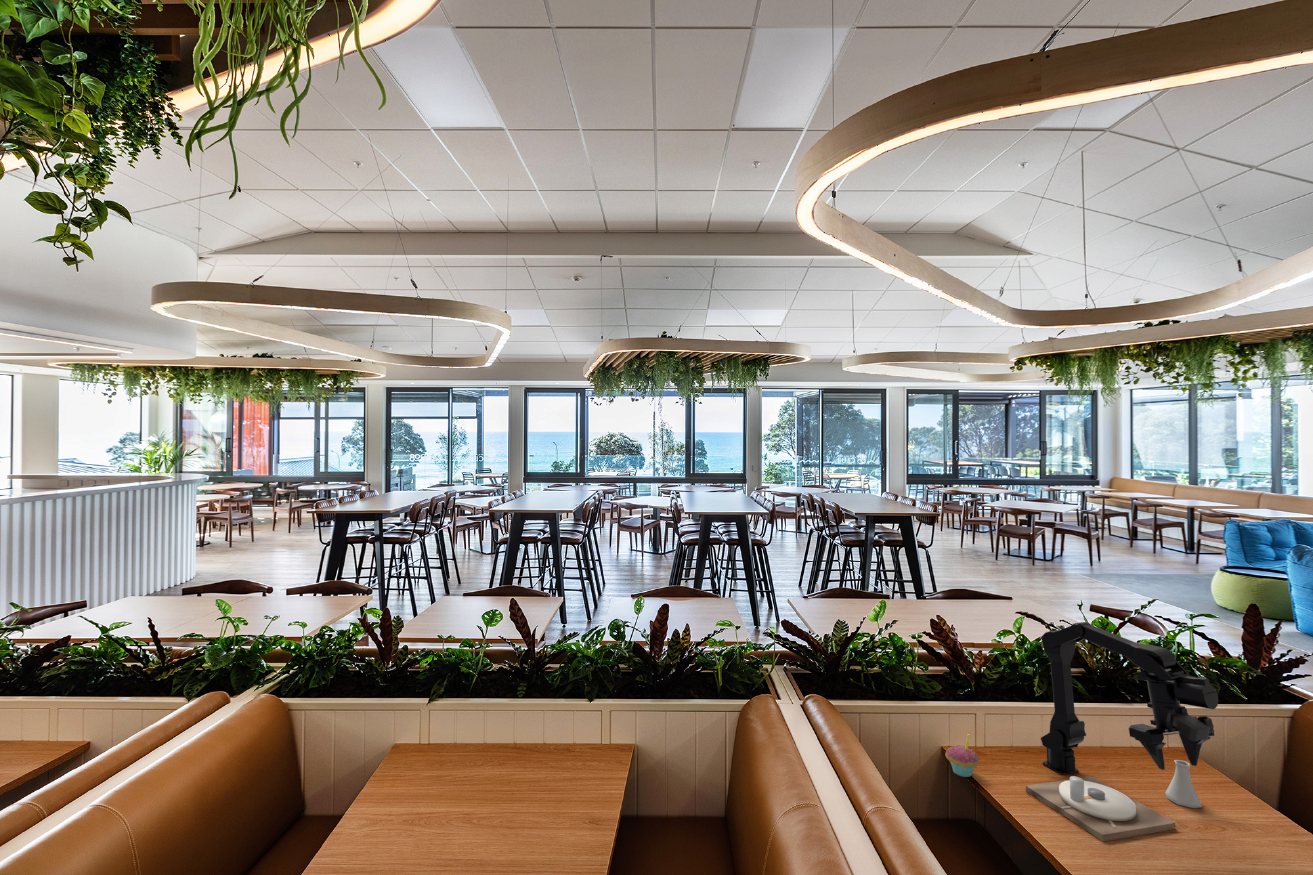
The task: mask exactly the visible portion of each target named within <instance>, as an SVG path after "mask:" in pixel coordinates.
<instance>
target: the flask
mask: <svg viewBox="0 0 1313 875" xmlns="http://www.w3.org/2000/svg"><path fill="white" fill-rule="evenodd" d="M1173 761H1174V763H1175V770H1174V775H1173V777H1172V779H1171V782H1170V784H1169V785H1168V787H1167V789H1166V791H1165V792H1164V793H1165V796H1166V798H1167V800H1169V801H1171V802H1172V803H1175V804H1176V805H1178V806H1181V807H1187V808H1192V809H1194V808H1195V809H1196V808H1203V804H1202V802H1201V800H1200V798H1199V796H1198V793H1197V792H1196V788H1195V787H1194V783H1193V782H1192V777H1191V775H1190V774H1191V773H1190V768H1191V766H1192V765H1191V763H1190V762H1188V761H1185V760H1181V759H1174V760H1173Z"/></svg>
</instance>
